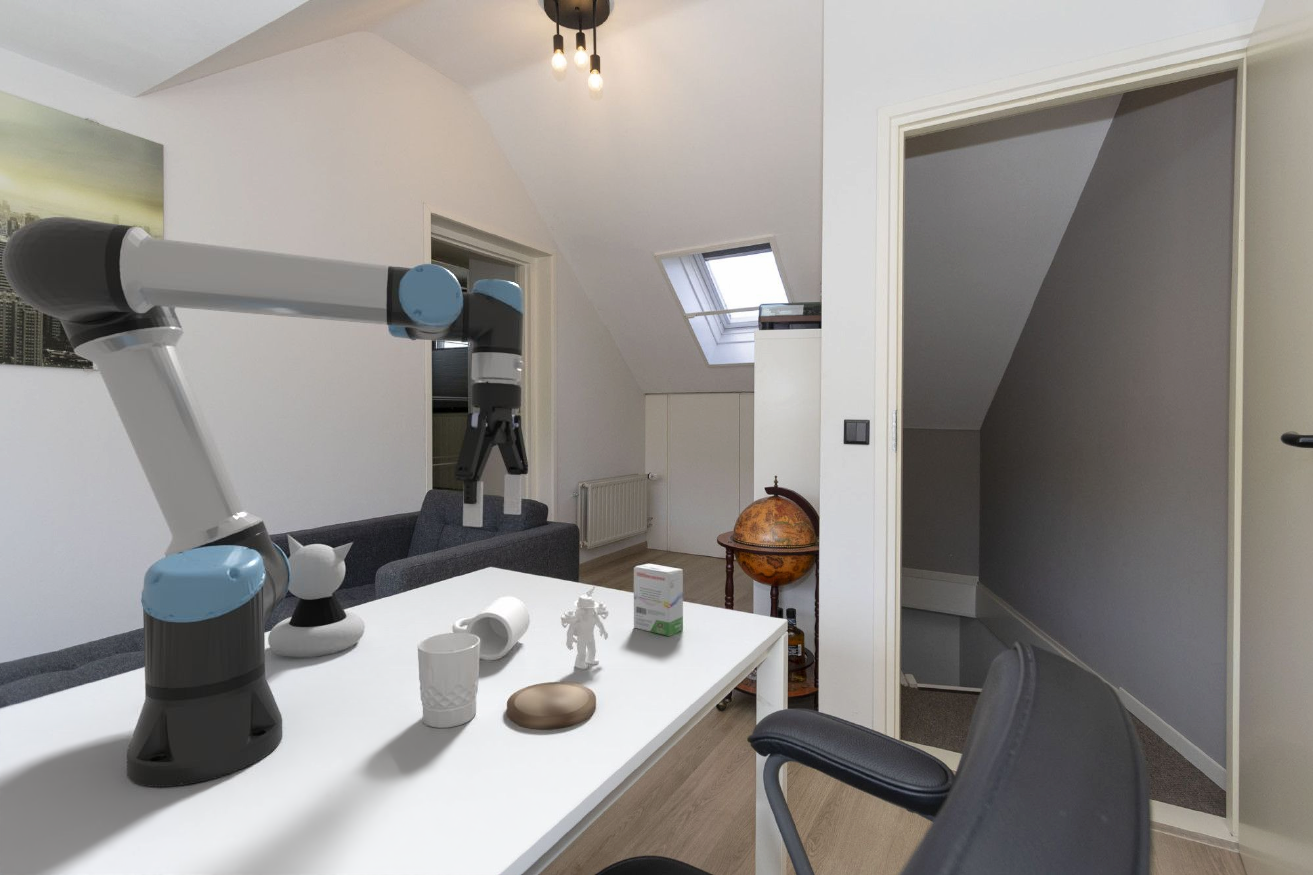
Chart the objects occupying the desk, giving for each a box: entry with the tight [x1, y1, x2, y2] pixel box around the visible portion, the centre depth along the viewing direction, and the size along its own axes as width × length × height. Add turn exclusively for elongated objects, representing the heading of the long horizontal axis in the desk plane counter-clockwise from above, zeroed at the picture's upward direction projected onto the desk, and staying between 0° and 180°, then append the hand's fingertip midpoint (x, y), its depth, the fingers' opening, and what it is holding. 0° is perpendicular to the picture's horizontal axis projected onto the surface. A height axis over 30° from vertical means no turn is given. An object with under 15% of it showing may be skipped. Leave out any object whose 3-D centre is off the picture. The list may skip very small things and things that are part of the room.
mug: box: [452, 596, 531, 661], centre depth 111 cm, size 12×10×8 cm
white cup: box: [417, 632, 480, 729], centre depth 86 cm, size 8×8×10 cm
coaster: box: [506, 681, 597, 730], centre depth 88 cm, size 12×12×1 cm
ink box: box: [633, 563, 684, 637], centre depth 122 cm, size 8×5×12 cm, turn 53°
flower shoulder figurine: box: [560, 586, 609, 670], centre depth 104 cm, size 9×4×12 cm, turn 137°
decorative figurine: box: [267, 533, 366, 659], centre depth 112 cm, size 15×15×20 cm
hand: (493, 519), depth 101 cm, fingers open, 13 cm apart
